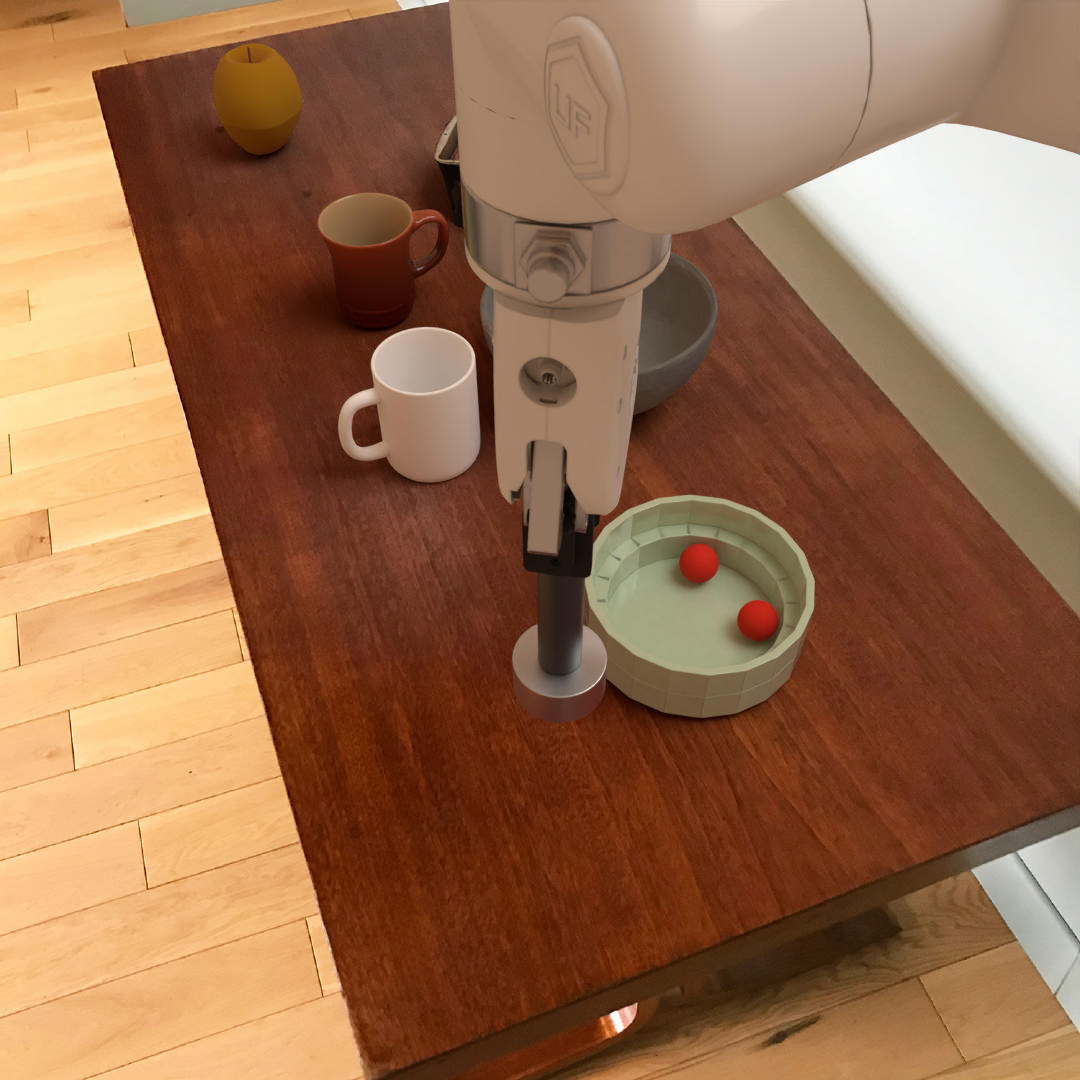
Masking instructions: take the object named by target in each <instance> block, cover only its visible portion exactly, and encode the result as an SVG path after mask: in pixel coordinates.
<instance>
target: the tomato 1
mask: <svg viewBox="0 0 1080 1080" xmlns="http://www.w3.org/2000/svg"><path fill="white" fill-rule="evenodd" d="M718 566H719V560H718V557H717V554H716V553H715V551H714V550H713V549H712V548H711V547H709V546H707V545H705V544H693V545H691V546H689V547H687V548H686V549H685V550H684V551H683V552H682V554H681V556H680V560H679V567H680V570H681V573H682V574H683V576H684V577H685V578H687V579H688V580H690V581H692V582H695V583H703V582H706V581H708V580H710V579H711V578H713V577H714V575H715V574H716V572H717V570H718Z"/></svg>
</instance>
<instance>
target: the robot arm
mask: <svg viewBox="0 0 1080 1080" xmlns="http://www.w3.org/2000/svg"><path fill="white" fill-rule="evenodd" d="M448 7H449V8H448V9H449V21H450V22H449V23H450V36H451V52H452V53H451V55H452V66H453V85H454V99H455V115H456V116H457V131H458V146H459V162H460V181H461V196H462V212H463V227H462V228H463V238H464V253H465V258H466V260H467V264H468V265H469V267H470V269H471V270H472V272H473V273H474V274H475V275H476V276H477V277H478V278H479V280H480V281H481V282H483V283H484V284H485V285H486V284H487V285H488V286H490V287H491V288H492V289H494V320H493V337H492V344H493V355H494V358H493V408H494V409H493V410H494V411H493V412H494V413H493V417H494V439H495V440H494V441H495V461H496V474H497V480H498V481H497V482H498V488H499V491H500V494H501V495H502V497H503V498H504V499H505V501H507V503H509V504H510V505H514V504H515V502H516V501H521V498H523V499H522V500H523V507H522V512H521V526H522V527H521V528H522V530H521V531H522V566H523V569H524V570H525V571H527V572H529V573H536V574H537V573H544V574H547V575H552V576H569V577H577V578H587V577H589V576H590V575H591V570H592V561H593V544H594V541H595V540H594V538H595V528H596V527H598V526H599V525H600V521H601V516H608V515H609V514H610V513H612V512H613V511H614V510H615V509H616V508H617V506H618V505H619V502H620V500H621V499H620V498H621V493H622V488H623V483H624V482H623V481H624V477H625V476H624V475H625V469H626V464H627V457H628V452H629V445H630V437H631V436H630V435H631V431H632V424H633V417H634V415H633V410H634V403H635V395H636V387H637V375H638V352H639V338H640V325H641V310H642V294H643V289H644V288H646V287H647V286H649V285H650V284H651V283H652V282H653V281H655V280H656V278H657V277H658V276H659V275H660V274H661V273H662V272H663V270H664V269H665V267H666V265H667V262H668V260H669V257H670V252H672V251H671V249H672V240H673V239H672V235H678V234H683V233H689V232H694V231H698V230H701V229H705V228H707V227H709V226H712V225H715V224H718V223H721V222H722V221H725V220H727V219H730V218H732V217H734V216H737V215H739V214H741V213H743V212H746V211H748V210H750V209H752V208H754V207H756V206H759V205H761V204H763V203H765V202H767V201H770V200H772V199H774V198H776V197H778V196H781V195H783V194H786V193H787V192H789V191H792V190H794V189H796V188H798V187H800V186H802V185H805V184H807V183H810V182H812V181H814V180H816V179H818V178H820V177H823V176H825V175H826V174H829V173H831V172H833V171H836V170H838V169H839V168H842V167H844V166H847V165H848V164H850V163H852V162H855V161H857V160H859V159H862V158H865V157H866V156H868V155H871V154H873V153H875V152H878V151H880V150H882V149H884V148H887V147H890V146H891V145H894V144H896V143H898V142H899V143H900V142H901V141H903V140H907V139H909V138H911V137H913V136H916V135H918V134H920V133H923V132H925V131H927V130H930V129H933V128H934V127H937V126H939V125H941V124H948V125H959V126H965V127H973V128H977V129H983V130H987V131H993V132H996V133H1000V134H1004V135H1007V136H1010V137H1011V136H1012V137H1015V138H1018V139H1023V140H1025V141H1031V142H1034V143H1038V144H1042V145H1044V146H1048V147H1052V148H1056V149H1060V150H1062V151H1066V152H1069V153H1073V154H1076V155H1079V156H1080V0H448ZM522 493H523V494H522ZM564 493H571V494H574V496H575V504H574V503H565V502H563V500H564Z"/></svg>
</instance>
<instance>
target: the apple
mask: <svg viewBox="0 0 1080 1080" xmlns="http://www.w3.org/2000/svg"><path fill="white" fill-rule="evenodd" d="M291 67H292V66H291V65H290V64H289V63H288V62H287V61H286V59H285V58H284V57H283V56H282V55H281V54H279V52H278V51H277V50H276V49H275V48H272V47H271V46H268V45H266V44H263V43H244V44H241V45H239V46H237V47H234V48H233V49H232V48H231V49H229V50H228V51H226V53H224V54H223V55H222V56H221V57H220V59H219V61H218V63H217V66H216V68H215V71H214V73H213V74H214V75H213V87H212V100H213V103H214V106H215V110H216V113H217V117H218V119H219V122H220V124H221V125H222V127H223V128H224V129H225V131H226V132H227V134H228V136H230V138H231V139H232V141H234V142H235V143H236V144H238V145H239V146H240V147H241V148H242V149H243V150H245V151H246V152H247V153H248V154H252V155H255V156H263V155H270V154H272V153H274V152H276V151H279V150H280V149H281V148H282V147H284V146H285V145H286V144H287V143H288V142H289V140H290V139H291V137H292V135H293V133H294V131H295V130H296V127H297V125H298V123H299V120H300V119H301V112H302V108H303V100H302V92H301V89H300V85H299V82H298V79H297V76H296V73H295V71H294V70H293V68H291Z"/></svg>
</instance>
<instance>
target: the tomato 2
mask: <svg viewBox="0 0 1080 1080" xmlns="http://www.w3.org/2000/svg"><path fill="white" fill-rule="evenodd" d="M737 624H738V628H739V630H740V631H741V633H742V634H743V635H744V636H745V637H747V638H748V639H750V640H753V641H763V640H766V639H768V638H770V637H771V636H772V635H773V634H774V633H775V632H776V630H777V628H778V624H779V617H778V614H777V611H776V610H775V608H774V607H773V606H772V605H771V604H769V603H768V602H765V601H762V600H753V601H750V602H748V603H746V604H745V605H744V606H743V607H742V608H741V609H740V611H739V613H738V616H737Z"/></svg>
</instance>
